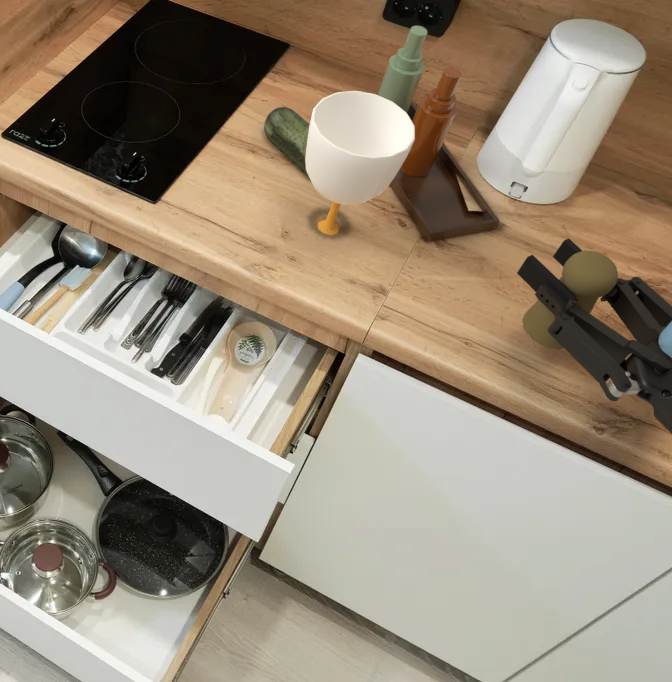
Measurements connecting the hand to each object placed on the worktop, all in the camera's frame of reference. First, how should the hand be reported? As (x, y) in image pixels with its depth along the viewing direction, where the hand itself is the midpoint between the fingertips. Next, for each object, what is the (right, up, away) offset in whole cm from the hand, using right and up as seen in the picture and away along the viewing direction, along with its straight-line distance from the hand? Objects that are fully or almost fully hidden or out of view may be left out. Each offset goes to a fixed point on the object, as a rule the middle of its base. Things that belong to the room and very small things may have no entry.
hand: (543, 256), depth 88 cm
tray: (-7, +15, +23) cm, 28 cm away
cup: (-21, +5, +15) cm, 26 cm away
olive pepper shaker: (+2, -8, +3) cm, 9 cm away
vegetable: (-23, +16, +23) cm, 36 cm away
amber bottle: (-7, +15, +23) cm, 28 cm away
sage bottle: (-10, +22, +28) cm, 37 cm away
